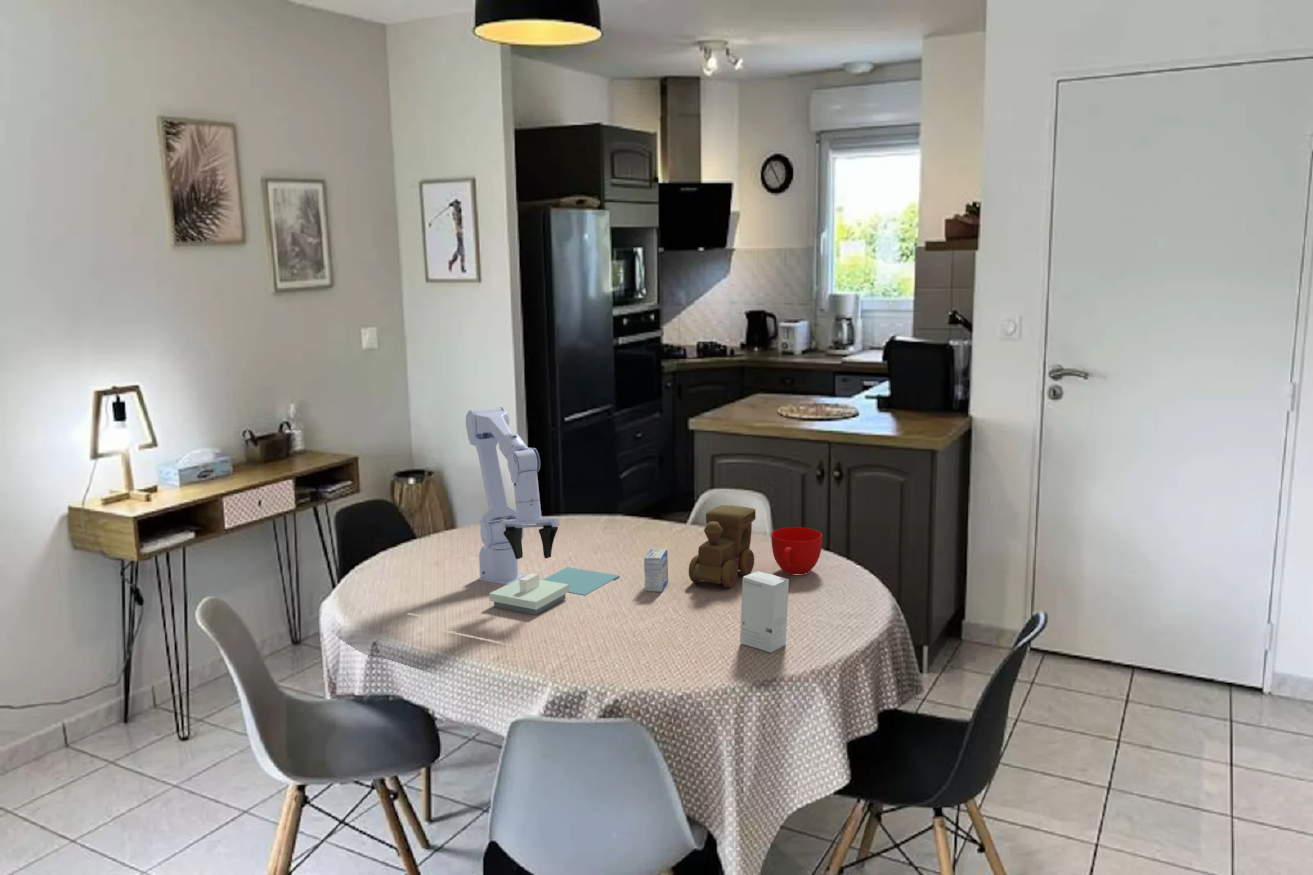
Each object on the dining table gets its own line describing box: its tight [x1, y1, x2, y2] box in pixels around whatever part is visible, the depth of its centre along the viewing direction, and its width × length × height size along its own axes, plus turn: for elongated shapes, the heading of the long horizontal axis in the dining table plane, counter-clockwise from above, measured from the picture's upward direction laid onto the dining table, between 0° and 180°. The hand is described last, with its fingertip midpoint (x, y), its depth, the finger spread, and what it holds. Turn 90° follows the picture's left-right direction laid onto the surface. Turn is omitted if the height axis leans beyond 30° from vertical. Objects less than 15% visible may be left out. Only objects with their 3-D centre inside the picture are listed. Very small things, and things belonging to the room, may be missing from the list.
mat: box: [542, 566, 621, 596], centre depth 245 cm, size 16×16×1 cm
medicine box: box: [643, 548, 669, 593], centre depth 240 cm, size 8×4×9 cm, turn 168°
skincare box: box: [739, 570, 790, 654], centre depth 202 cm, size 8×6×15 cm
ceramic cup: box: [770, 526, 823, 575], centre depth 247 cm, size 13×17×10 cm
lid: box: [488, 572, 569, 610], centre depth 229 cm, size 13×13×5 cm
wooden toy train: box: [688, 504, 757, 589], centre depth 245 cm, size 20×11×17 cm, turn 151°
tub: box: [493, 594, 566, 616], centre depth 230 cm, size 12×12×3 cm
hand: (533, 558), depth 229 cm, fingers open, 7 cm apart
